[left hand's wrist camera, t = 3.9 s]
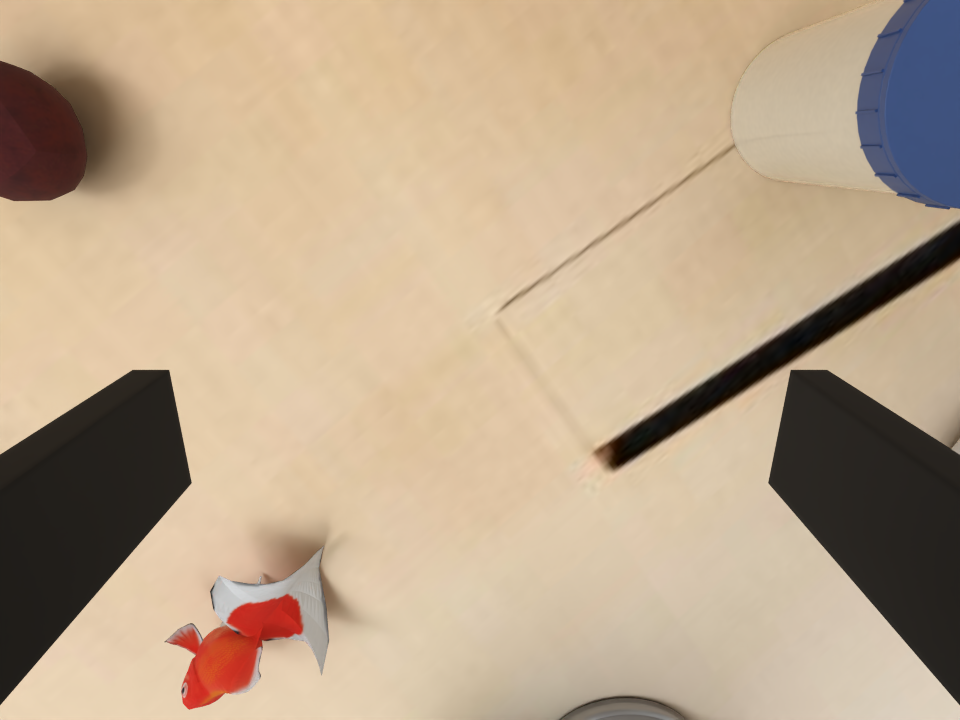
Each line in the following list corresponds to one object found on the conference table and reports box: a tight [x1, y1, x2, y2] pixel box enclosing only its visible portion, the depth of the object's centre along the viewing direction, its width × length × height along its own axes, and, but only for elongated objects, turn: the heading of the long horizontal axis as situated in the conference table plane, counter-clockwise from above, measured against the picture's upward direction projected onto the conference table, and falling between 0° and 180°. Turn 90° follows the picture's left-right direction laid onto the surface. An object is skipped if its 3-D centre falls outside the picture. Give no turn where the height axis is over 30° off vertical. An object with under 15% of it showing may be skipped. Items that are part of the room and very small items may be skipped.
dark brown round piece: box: [0, 61, 87, 201], centre depth 33 cm, size 7×8×7 cm
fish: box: [165, 546, 329, 710], centre depth 45 cm, size 11×16×10 cm
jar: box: [731, 0, 904, 194], centre depth 29 cm, size 9×9×15 cm
